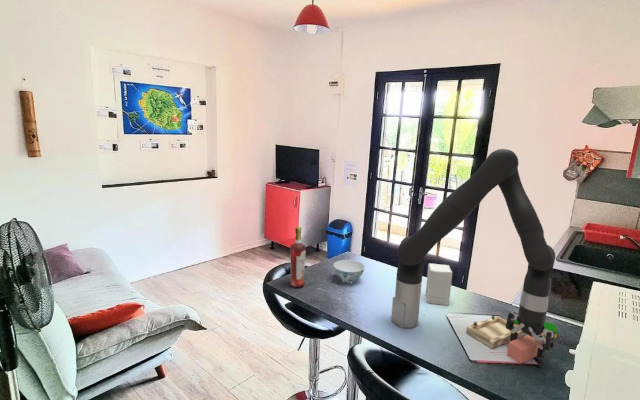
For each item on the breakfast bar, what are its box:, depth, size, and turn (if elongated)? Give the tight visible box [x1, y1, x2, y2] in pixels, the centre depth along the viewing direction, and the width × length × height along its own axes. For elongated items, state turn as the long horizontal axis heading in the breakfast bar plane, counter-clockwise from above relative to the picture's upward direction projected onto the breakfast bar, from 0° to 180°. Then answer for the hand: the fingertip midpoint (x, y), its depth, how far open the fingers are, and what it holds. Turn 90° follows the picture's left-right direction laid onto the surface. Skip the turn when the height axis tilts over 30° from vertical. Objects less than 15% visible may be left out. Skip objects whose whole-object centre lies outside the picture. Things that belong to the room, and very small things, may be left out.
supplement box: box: [425, 263, 453, 306], centre depth 147 cm, size 9×9×15 cm
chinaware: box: [333, 259, 365, 284], centre depth 165 cm, size 15×15×8 cm
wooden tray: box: [465, 315, 525, 349], centre depth 123 cm, size 18×10×4 cm, turn 118°
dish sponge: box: [514, 319, 558, 339], centre depth 128 cm, size 7×14×2 cm, turn 59°
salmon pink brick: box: [506, 334, 546, 365], centre depth 112 cm, size 13×4×6 cm, turn 117°
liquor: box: [289, 226, 307, 288], centre depth 156 cm, size 7×7×28 cm
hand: (526, 350), depth 112 cm, fingers open, 8 cm apart
